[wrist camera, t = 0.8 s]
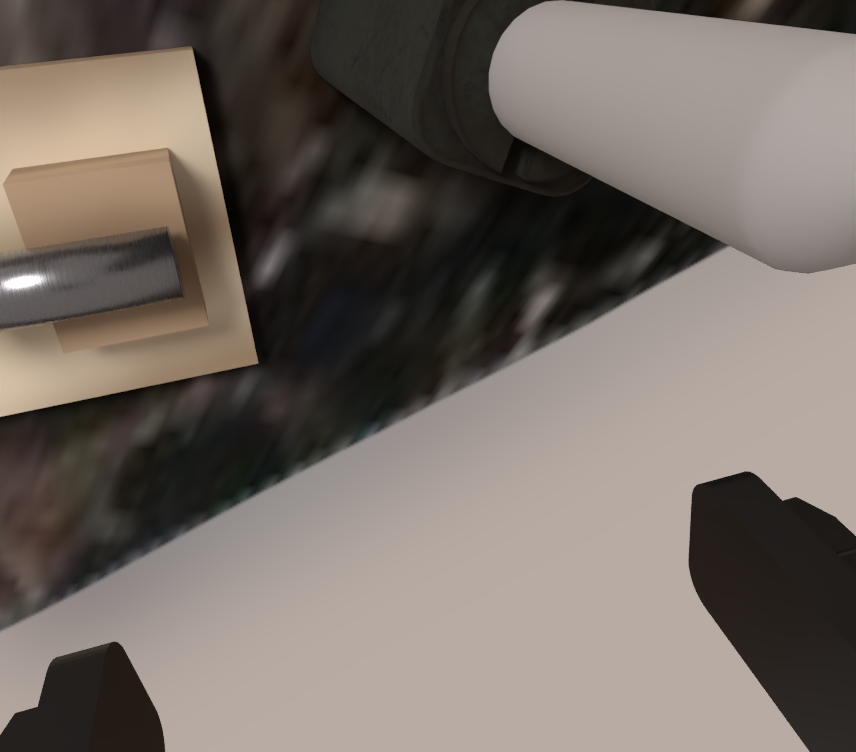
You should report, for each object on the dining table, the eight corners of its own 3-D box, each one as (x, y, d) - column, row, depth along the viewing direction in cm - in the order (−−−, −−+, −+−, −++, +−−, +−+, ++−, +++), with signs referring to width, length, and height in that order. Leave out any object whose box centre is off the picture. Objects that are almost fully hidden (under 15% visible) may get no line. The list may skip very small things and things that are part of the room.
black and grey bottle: (473, -24, 27) (1475, 53, 7) (428, 116, 29) (1099, 513, 9) (341, -80, 25) (1216, -227, 5) (302, 74, 27) (791, 467, 6)
